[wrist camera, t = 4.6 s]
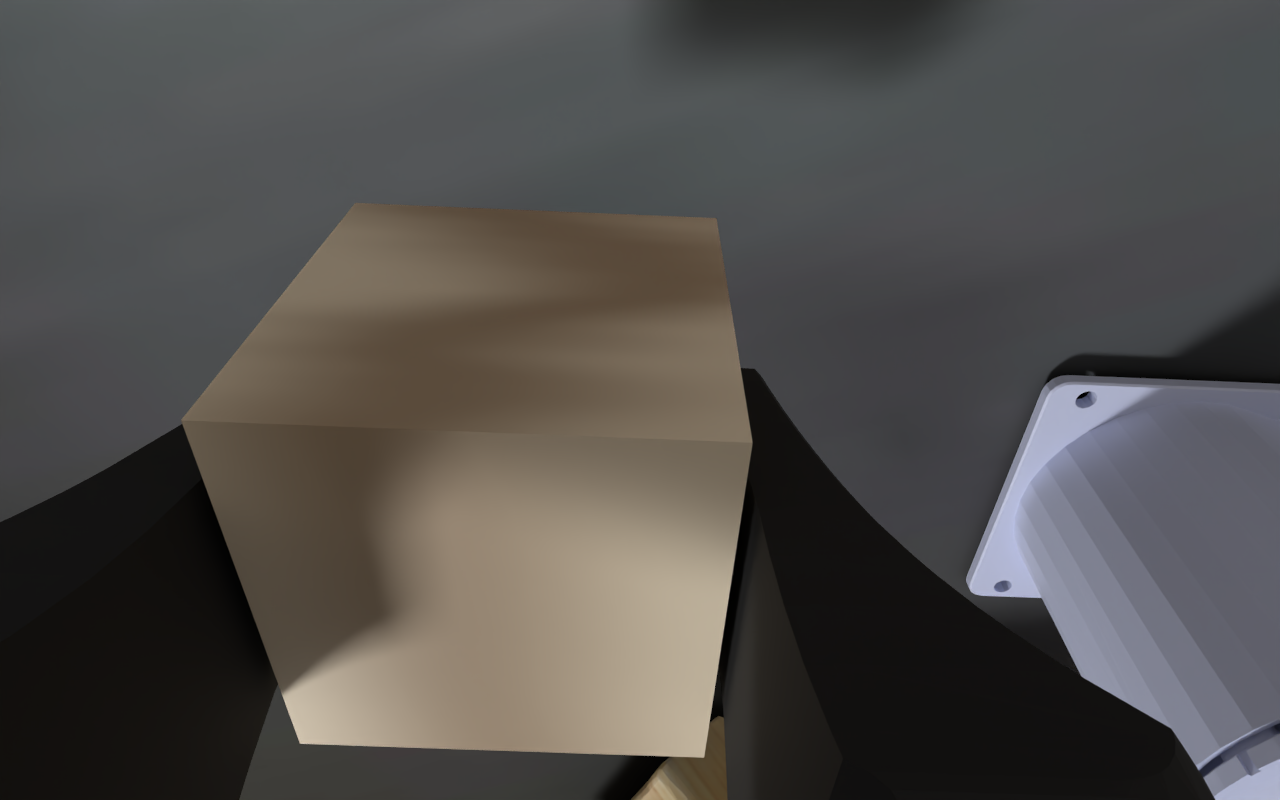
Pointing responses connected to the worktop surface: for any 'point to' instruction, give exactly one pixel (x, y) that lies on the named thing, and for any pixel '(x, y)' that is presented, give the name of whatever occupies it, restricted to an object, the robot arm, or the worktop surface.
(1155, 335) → the worktop surface
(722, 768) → the knife block
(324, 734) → the beech block
